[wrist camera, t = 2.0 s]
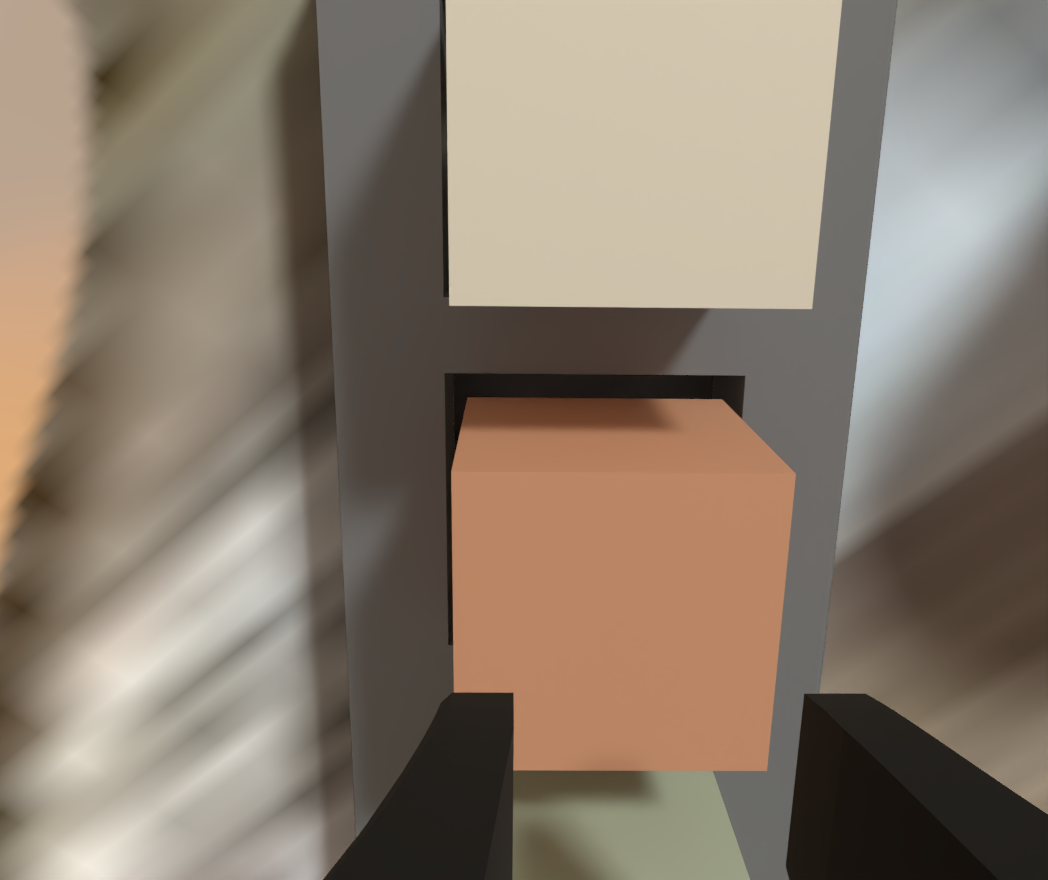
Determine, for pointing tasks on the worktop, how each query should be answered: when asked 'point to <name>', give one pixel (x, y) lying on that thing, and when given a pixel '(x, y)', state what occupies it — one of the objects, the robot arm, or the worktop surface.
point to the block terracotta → (621, 579)
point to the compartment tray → (553, 348)
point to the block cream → (637, 151)
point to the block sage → (622, 826)
